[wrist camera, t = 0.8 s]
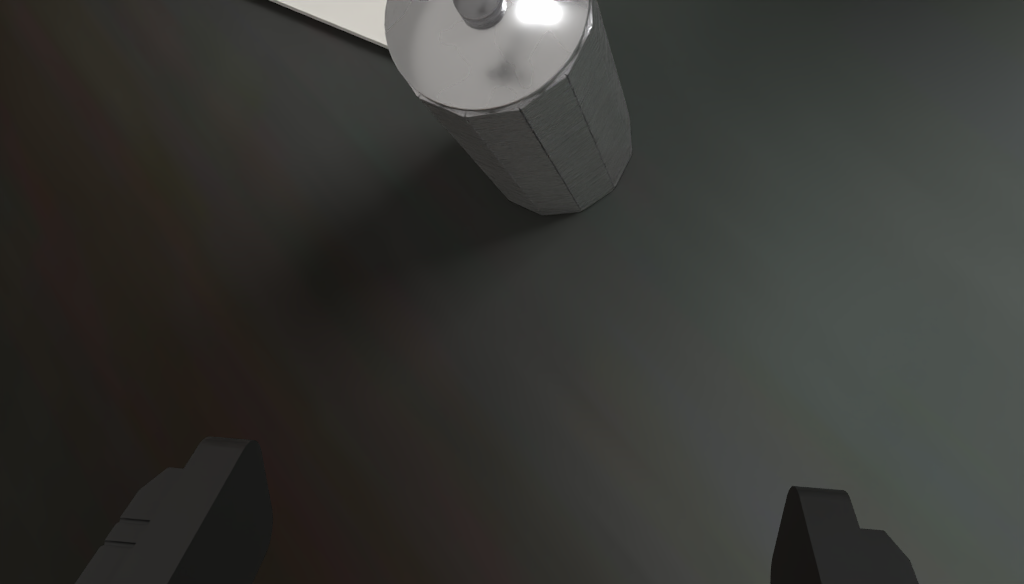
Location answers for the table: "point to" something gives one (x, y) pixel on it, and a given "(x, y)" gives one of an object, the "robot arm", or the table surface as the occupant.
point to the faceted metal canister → (520, 92)
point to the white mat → (346, 16)
